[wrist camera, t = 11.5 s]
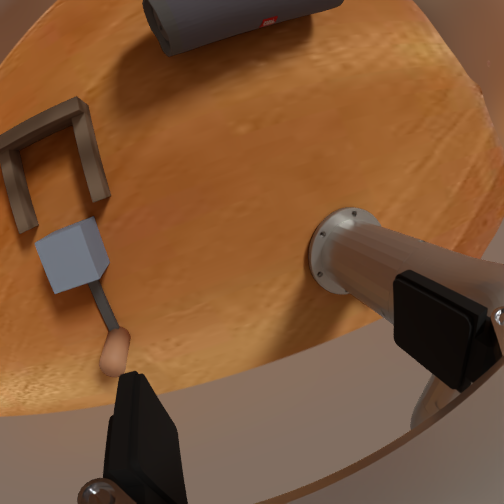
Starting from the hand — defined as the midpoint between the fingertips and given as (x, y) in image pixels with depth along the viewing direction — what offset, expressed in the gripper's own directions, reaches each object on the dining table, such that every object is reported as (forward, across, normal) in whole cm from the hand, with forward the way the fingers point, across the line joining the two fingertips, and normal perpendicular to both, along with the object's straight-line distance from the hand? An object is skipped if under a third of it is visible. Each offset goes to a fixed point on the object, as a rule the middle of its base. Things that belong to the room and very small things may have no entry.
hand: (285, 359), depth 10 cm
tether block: (+28, +15, +4) cm, 32 cm away
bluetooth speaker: (+29, -11, -26) cm, 40 cm away
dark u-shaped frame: (+28, +16, -11) cm, 34 cm away
